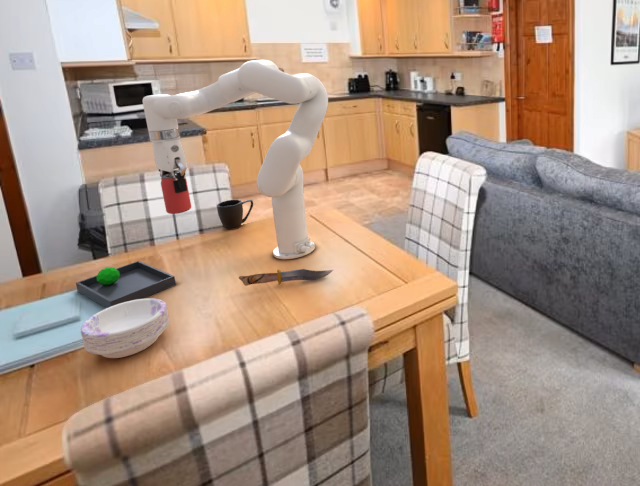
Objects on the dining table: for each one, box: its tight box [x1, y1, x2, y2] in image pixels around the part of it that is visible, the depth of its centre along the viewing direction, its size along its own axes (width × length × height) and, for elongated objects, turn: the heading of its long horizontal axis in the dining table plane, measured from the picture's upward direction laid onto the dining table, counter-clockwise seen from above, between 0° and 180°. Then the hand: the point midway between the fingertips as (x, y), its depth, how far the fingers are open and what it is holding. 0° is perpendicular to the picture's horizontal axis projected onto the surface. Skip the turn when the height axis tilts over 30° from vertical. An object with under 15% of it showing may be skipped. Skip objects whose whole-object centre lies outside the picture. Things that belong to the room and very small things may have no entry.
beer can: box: [160, 172, 192, 215], centre depth 146 cm, size 7×7×12 cm
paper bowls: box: [80, 297, 170, 359], centre depth 106 cm, size 15×15×8 cm
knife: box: [238, 268, 334, 287], centre depth 132 cm, size 25×1×5 cm, turn 108°
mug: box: [216, 199, 254, 230], centre depth 176 cm, size 8×12×10 cm
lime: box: [96, 266, 120, 285], centre depth 133 cm, size 5×5×5 cm
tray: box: [75, 260, 177, 309], centre depth 132 cm, size 21×15×3 cm
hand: (175, 189), depth 146 cm, fingers closed on beer can, 6 cm apart
